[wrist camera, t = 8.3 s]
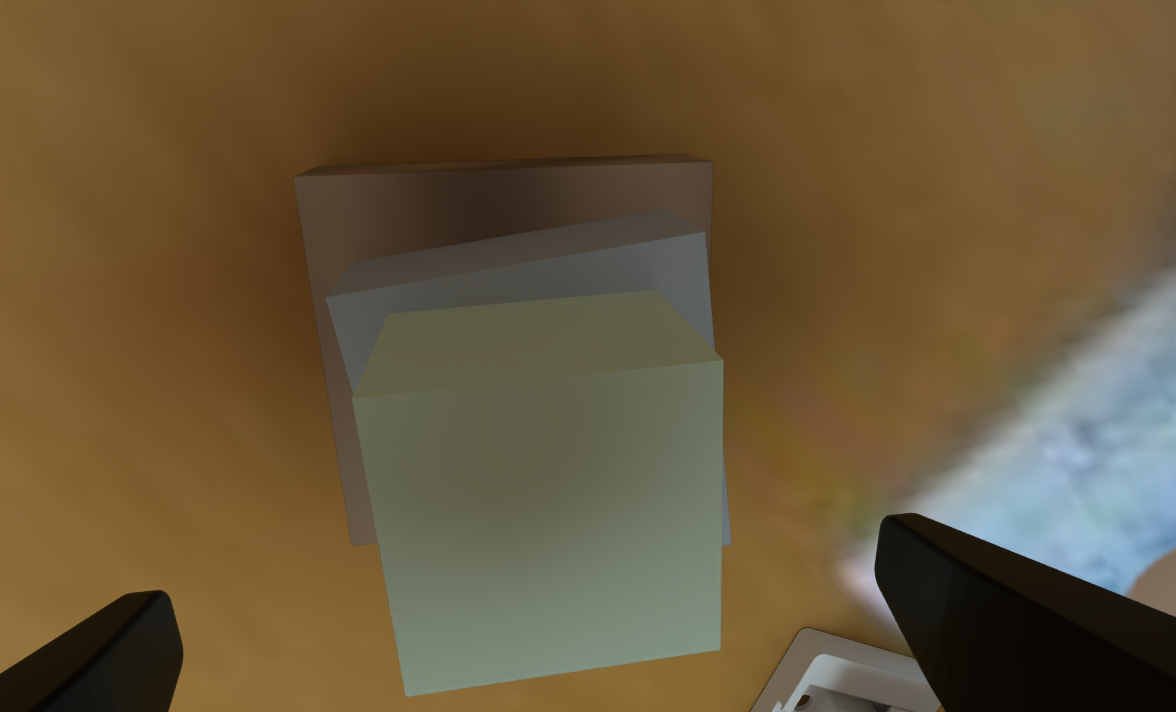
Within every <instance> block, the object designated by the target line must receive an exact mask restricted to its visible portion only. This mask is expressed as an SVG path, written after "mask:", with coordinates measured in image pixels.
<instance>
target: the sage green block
mask: <svg viewBox="0 0 1176 712" xmlns="http://www.w3.org/2000/svg"><path fill="white" fill-rule="evenodd" d="M723 384H724V360H723V359H722V358H721V357H720V356H719V355H718V354H717V353H716V352H715V350H714V349H713V348H712V347H711V346H710V345H709V344H708V343H707V342H706V341H705V340H704V339H703V338H702V337H701V336H700V335H699V334H698V332H697V331H696V330H695V329H694V328H693V327H692V326H691V325H690V324H689V323H688V322H687V321H686V320H685V319H684V318H683V317H682V315H681V314H680V313H679V312H678V311H677V310H676V309H675V308H674V307H673V306H672V305H671V304H670V303H669V302H668V301H667V300H666V298H665V297H664V296H663V295H662V294H661V293H660V292H659V291H658V290H657V289H656V290H645V291H634V292H623V293H612V294H600V295H589V296H578V297H567V298H556V299H545V300H534V301H522V302H511V303H500V304H489V305H478V306H467V307H456V308H445V309H433V310H422V311H411V312H400V313H389V314H388V315H387V318H386V320H385V322H384V325H383V327H382V329H381V332H380V334H379V336H378V339H377V341H376V343H375V346H374V348H373V350H372V353H371V355H370V357H369V360H368V362H367V364H366V367H365V369H364V371H363V374H362V376H361V378H360V381H359V383H358V385H357V388H356V390H355V392H354V395H353V397H352V403H353V408H354V414H355V419H356V425H357V430H358V436H359V441H360V447H361V452H362V458H363V463H364V469H365V474H366V480H367V485H368V491H369V496H370V502H371V507H372V513H373V518H374V524H375V529H376V535H377V540H378V546H379V551H380V557H381V562H382V568H383V573H384V579H385V584H386V590H387V595H388V601H389V606H390V612H391V617H392V623H393V628H394V634H395V639H396V645H397V650H398V656H399V661H400V667H401V672H402V678H403V683H404V689H405V694H406V697H409V696H415V695H422V694H429V693H435V692H442V691H449V690H455V689H462V688H469V687H475V686H482V685H488V684H495V683H502V682H508V681H515V680H522V679H528V678H535V677H542V676H548V675H555V674H561V673H568V672H575V671H581V670H588V669H595V668H601V667H608V666H615V665H621V664H628V663H635V662H641V661H648V660H654V659H661V658H668V657H674V656H681V655H688V654H694V653H701V652H708V651H714V650H720V645H721V558H722V471H723Z"/></svg>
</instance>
